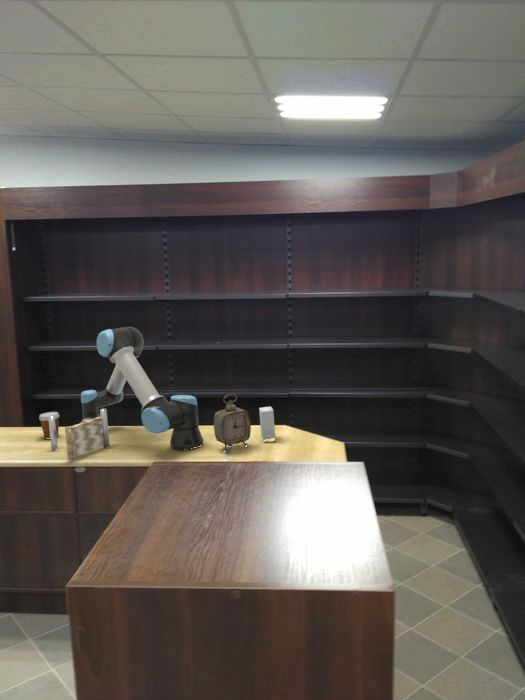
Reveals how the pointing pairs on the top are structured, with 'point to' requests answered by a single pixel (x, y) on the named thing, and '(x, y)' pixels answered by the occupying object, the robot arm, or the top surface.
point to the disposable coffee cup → (45, 422)
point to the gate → (84, 437)
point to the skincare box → (267, 423)
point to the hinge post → (105, 427)
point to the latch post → (53, 432)
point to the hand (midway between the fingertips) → (71, 444)
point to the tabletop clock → (232, 424)
